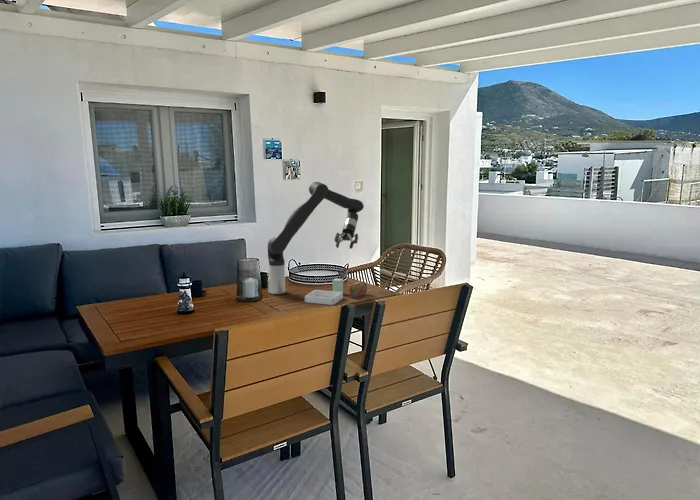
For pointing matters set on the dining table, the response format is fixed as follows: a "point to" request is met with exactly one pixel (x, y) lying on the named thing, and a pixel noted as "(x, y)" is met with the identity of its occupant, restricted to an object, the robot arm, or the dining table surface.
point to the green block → (338, 285)
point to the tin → (357, 289)
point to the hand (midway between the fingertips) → (343, 247)
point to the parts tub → (323, 297)
